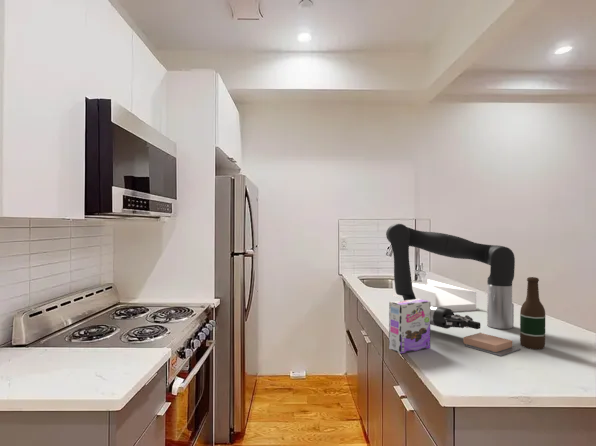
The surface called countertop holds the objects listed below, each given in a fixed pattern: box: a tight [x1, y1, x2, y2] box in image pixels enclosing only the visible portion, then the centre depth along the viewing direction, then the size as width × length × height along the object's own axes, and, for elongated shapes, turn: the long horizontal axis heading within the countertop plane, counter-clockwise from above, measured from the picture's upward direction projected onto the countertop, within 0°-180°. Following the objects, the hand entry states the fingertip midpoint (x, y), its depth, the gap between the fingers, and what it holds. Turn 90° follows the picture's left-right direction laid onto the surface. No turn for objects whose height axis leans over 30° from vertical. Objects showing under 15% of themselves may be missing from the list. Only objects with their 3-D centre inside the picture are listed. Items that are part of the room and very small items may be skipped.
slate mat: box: [464, 344, 521, 357], centre depth 145 cm, size 12×13×1 cm
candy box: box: [388, 299, 431, 355], centre depth 144 cm, size 14×6×16 cm, turn 117°
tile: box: [463, 332, 513, 352], centre depth 146 cm, size 10×2×12 cm
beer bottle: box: [519, 276, 546, 350], centre depth 147 cm, size 8×8×24 cm
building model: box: [392, 278, 477, 313], centre depth 224 cm, size 45×22×10 cm, turn 13°
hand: (479, 326), depth 149 cm, fingers closed
